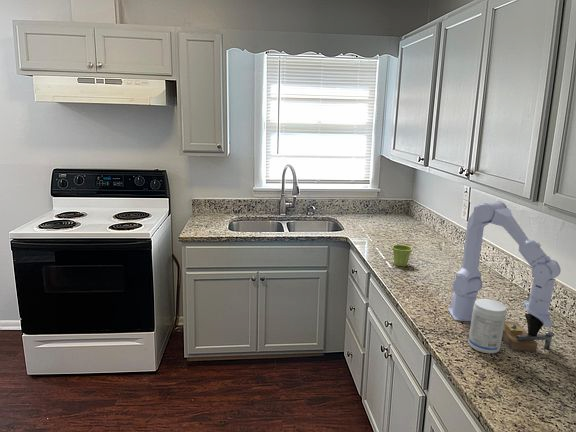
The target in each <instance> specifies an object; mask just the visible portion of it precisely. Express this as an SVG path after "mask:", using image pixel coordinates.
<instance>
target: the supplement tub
mask: <svg viewBox="0 0 576 432" xmlns="http://www.w3.org/2000/svg"><path fill="white" fill-rule="evenodd" d="M507 309H508V308H507V306H506V305H505V304H504V303H502V302H500V301H498V300H495V299H491V298H478V299H476V301H475V304H474V308H473V314H472V320H471V322H470V327H469V328H470V329H469V334H468V341H467V342H468V345H469V346H470V347H471V348H472V349H474V350H475V351H478V352H480V353H484V354H496V353H498V352H499V351H500V349H501V345H502V341H503V339H502V335H503V330H504V324H505V321H506V318H507V311H508V310H507Z"/></svg>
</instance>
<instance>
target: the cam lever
mask: <svg viewBox="0 0 576 432" xmlns="http://www.w3.org/2000/svg"><path fill="white" fill-rule="evenodd" d="M554 336H555V333H554V332H553V331H551V330H546V331H545V333H544V334H537V335H517V336H516V339H517V340H534V341H544V343H543V345H544V346H543V349H544V350H549V351H550V347H551V344H552V338H553V337H554Z"/></svg>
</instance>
